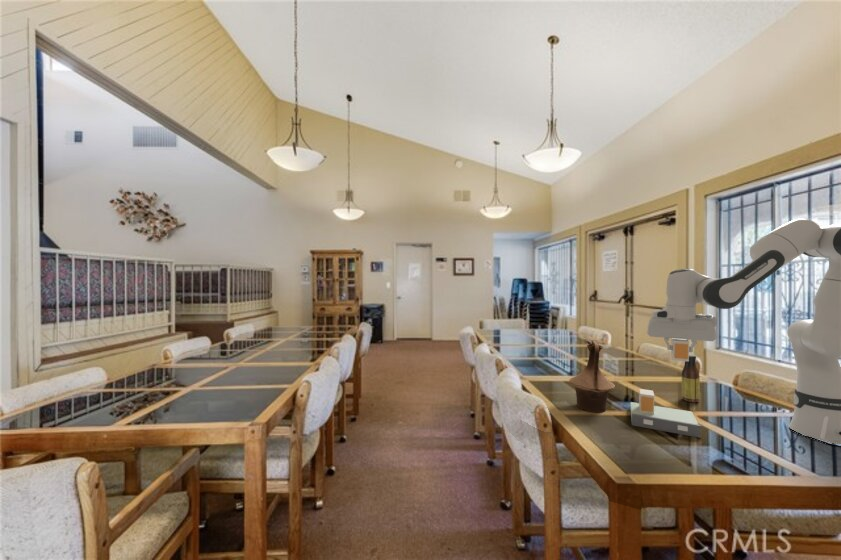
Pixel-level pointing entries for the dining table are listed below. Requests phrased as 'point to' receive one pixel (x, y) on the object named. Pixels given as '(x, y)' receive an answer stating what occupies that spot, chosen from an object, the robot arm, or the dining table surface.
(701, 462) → the dining table surface
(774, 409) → the dining table surface
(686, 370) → the sauce bottle
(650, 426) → the shelf
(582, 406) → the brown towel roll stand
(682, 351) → the turned carton
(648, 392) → the faced carton
